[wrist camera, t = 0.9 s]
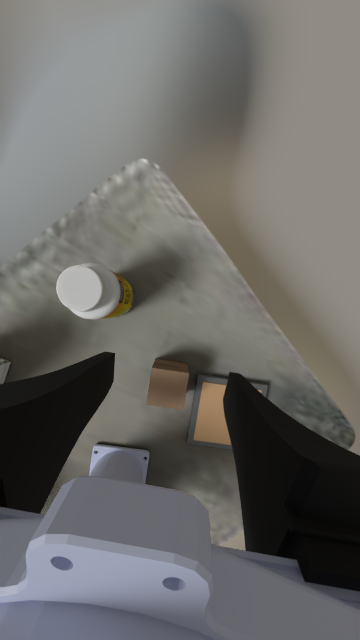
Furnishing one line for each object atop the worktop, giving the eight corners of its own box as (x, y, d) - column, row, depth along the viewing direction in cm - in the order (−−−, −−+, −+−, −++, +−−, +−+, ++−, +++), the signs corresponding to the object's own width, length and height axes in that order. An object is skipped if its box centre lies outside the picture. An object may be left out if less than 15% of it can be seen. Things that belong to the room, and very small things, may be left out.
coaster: (253, 449, 28) (256, 453, 27) (186, 440, 28) (187, 444, 27) (265, 383, 28) (268, 385, 27) (197, 373, 27) (198, 375, 27)
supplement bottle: (141, 308, 27) (121, 308, 17) (103, 322, 27) (60, 330, 17) (127, 270, 26) (97, 246, 16) (88, 284, 26) (35, 268, 16)
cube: (181, 393, 28) (183, 409, 23) (150, 389, 28) (146, 404, 23) (186, 362, 28) (189, 373, 23) (155, 358, 27) (151, 367, 23)
